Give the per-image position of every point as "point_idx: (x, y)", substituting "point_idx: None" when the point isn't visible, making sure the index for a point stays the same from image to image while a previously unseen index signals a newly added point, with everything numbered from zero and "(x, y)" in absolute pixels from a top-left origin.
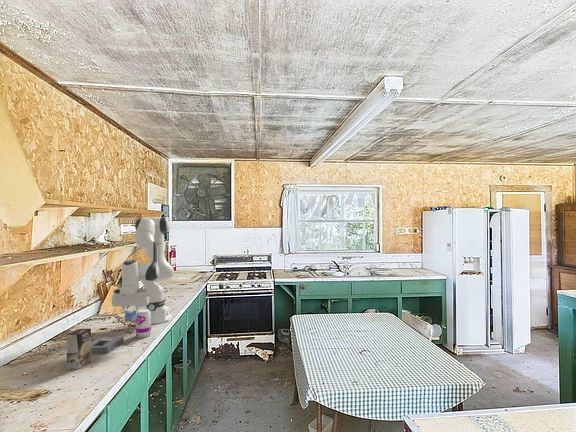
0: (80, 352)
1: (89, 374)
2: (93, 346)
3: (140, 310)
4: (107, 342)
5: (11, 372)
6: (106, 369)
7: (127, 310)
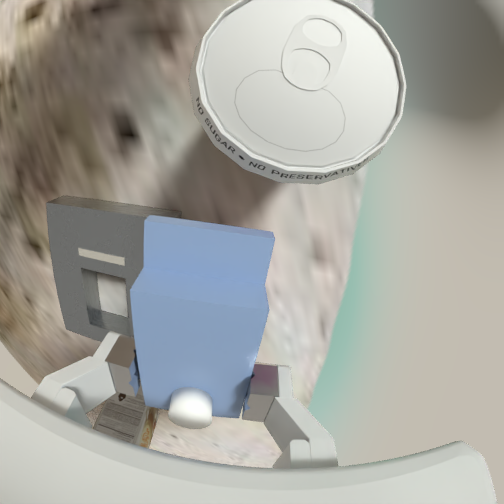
0: (148, 448)
1: (206, 439)
2: (99, 332)
3: (243, 22)
4: (128, 301)
5: (30, 371)
6: (237, 432)
7: (130, 381)
